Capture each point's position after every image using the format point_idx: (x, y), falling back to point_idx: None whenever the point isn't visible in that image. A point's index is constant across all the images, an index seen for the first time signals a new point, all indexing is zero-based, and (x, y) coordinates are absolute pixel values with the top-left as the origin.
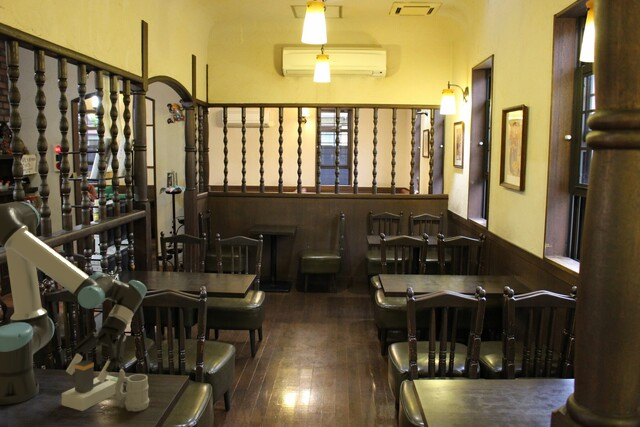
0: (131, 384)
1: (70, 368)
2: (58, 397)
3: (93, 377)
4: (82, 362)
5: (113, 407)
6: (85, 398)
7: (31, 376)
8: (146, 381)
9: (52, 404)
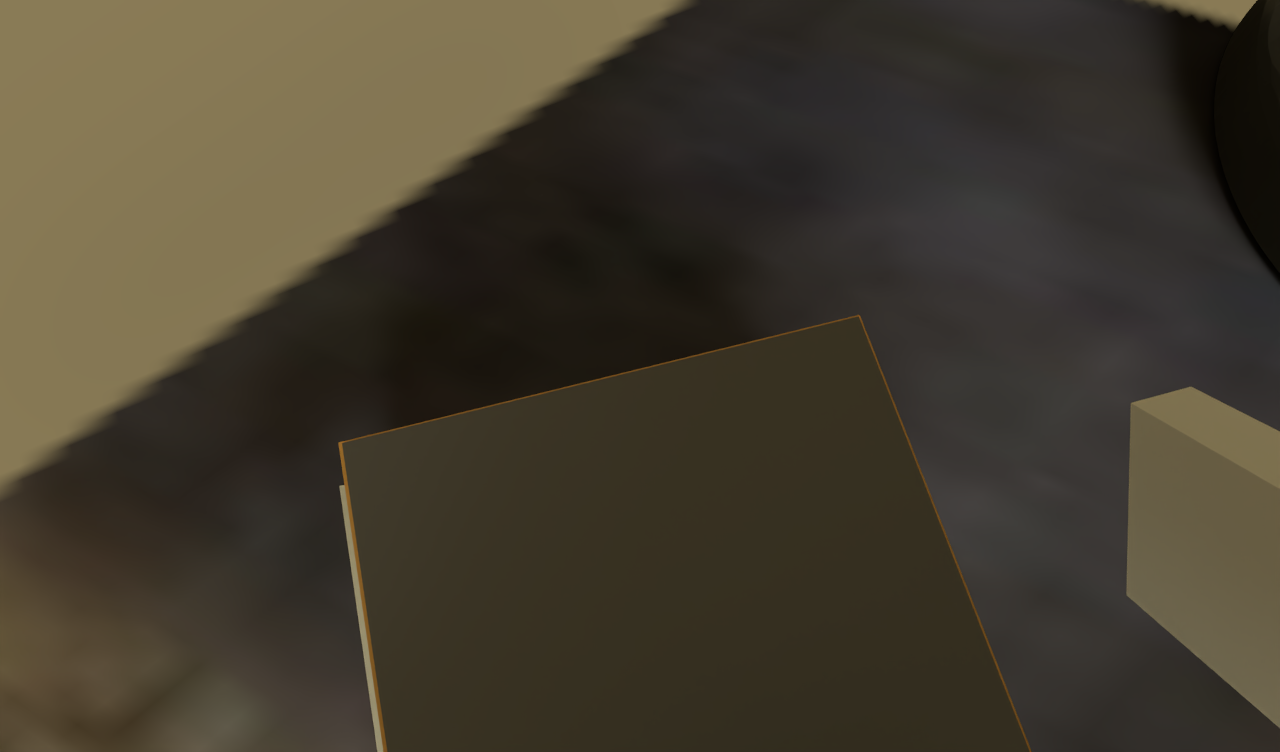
0: None
1: (1214, 494)
2: (1086, 522)
3: None
4: (852, 644)
5: None
6: (353, 556)
7: None
8: None
9: (901, 364)
